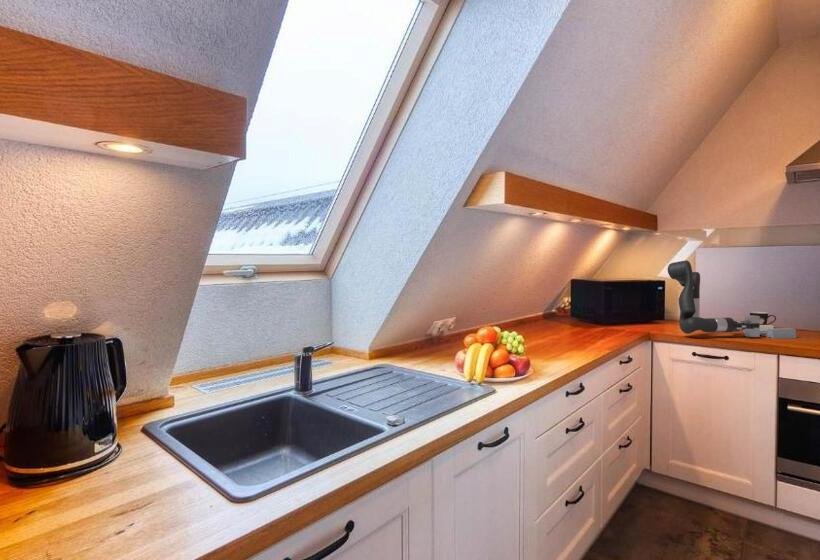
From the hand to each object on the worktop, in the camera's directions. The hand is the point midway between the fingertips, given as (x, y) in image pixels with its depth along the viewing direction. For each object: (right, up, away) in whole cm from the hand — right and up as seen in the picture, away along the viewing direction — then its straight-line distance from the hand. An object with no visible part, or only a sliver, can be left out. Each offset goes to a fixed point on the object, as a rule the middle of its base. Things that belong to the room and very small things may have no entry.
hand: (752, 324), depth 236 cm
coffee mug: (+23, -6, +24) cm, 34 cm away
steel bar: (0, -7, 0) cm, 7 cm away
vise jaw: (+8, -5, +11) cm, 14 cm away
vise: (+13, -6, +5) cm, 15 cm away
